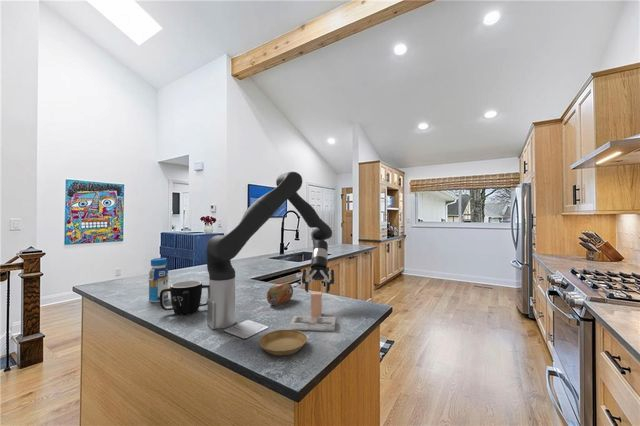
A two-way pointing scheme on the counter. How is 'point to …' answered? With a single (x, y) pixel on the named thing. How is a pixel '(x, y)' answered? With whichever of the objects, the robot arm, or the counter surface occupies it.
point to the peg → (316, 304)
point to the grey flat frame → (312, 323)
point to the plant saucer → (283, 342)
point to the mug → (184, 297)
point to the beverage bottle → (158, 279)
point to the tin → (279, 294)
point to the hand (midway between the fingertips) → (317, 291)
